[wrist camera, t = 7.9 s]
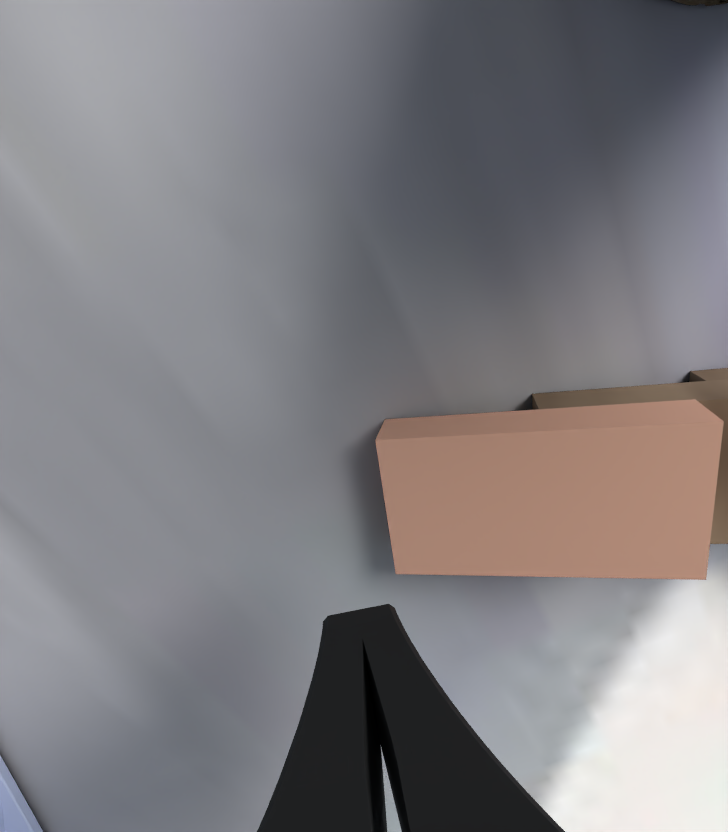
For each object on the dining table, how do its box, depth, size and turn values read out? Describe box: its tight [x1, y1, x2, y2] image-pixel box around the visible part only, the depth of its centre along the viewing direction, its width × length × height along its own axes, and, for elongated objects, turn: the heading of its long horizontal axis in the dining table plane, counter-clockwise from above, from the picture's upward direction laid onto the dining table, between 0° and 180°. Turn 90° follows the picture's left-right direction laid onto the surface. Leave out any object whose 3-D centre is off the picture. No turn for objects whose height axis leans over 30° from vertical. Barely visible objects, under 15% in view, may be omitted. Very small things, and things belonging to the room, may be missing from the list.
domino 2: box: [532, 379, 728, 544], centre depth 14 cm, size 5×2×8 cm
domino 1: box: [375, 399, 724, 580], centre depth 14 cm, size 5×2×8 cm
